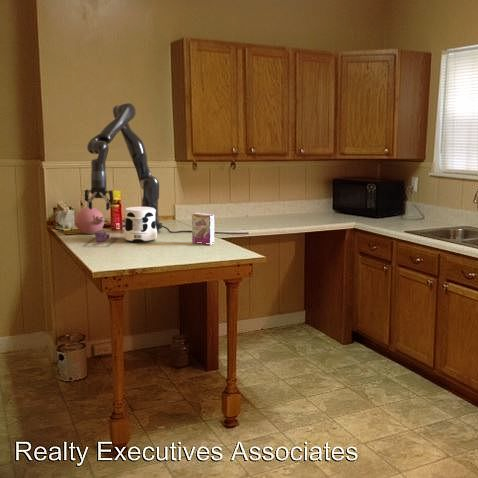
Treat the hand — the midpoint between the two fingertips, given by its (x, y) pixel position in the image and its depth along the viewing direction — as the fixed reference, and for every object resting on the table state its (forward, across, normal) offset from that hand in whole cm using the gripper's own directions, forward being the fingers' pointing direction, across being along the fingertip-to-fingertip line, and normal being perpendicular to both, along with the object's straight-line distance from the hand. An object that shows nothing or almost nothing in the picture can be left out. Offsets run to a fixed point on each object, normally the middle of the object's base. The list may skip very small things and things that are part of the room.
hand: (99, 209), depth 320 cm
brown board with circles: (+18, +1, -1) cm, 18 cm away
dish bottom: (+17, +1, -1) cm, 17 cm away
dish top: (+17, 0, +7) cm, 18 cm away
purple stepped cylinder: (+14, +1, -1) cm, 14 cm away
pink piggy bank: (+18, -10, +19) cm, 28 cm away
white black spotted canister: (+18, +21, +3) cm, 27 cm away
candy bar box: (+17, +55, 0) cm, 57 cm away
